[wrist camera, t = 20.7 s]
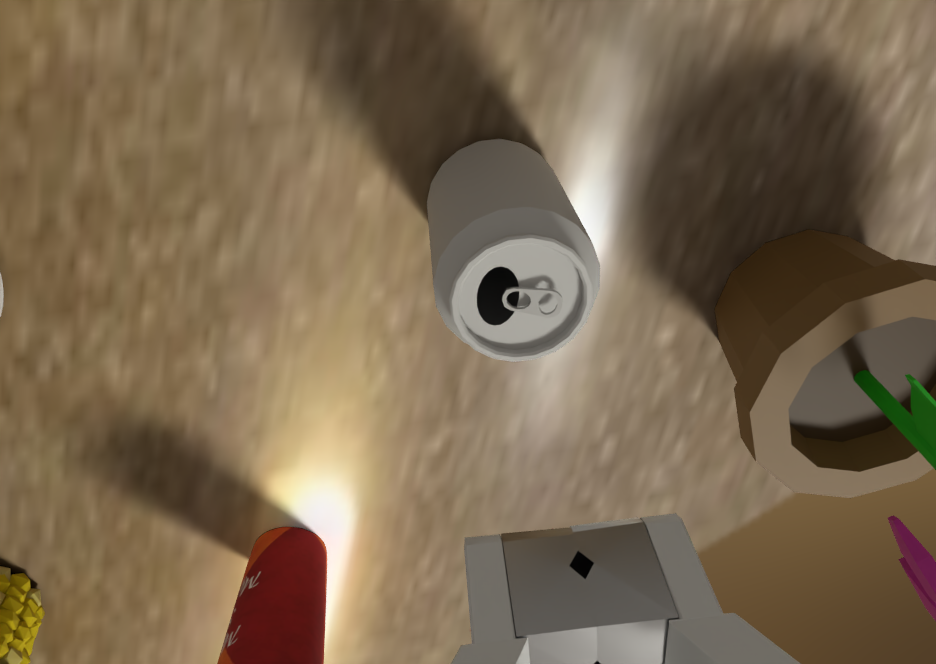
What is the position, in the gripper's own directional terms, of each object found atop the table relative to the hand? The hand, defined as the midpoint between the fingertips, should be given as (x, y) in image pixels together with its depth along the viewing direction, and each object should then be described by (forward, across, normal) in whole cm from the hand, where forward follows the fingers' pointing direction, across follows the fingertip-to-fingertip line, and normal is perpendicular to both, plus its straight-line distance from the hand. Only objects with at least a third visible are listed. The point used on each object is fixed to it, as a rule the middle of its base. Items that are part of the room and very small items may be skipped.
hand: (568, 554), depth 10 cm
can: (+31, -2, +7) cm, 32 cm away
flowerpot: (+31, -20, +16) cm, 41 cm away
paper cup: (+31, +16, +34) cm, 49 cm away
